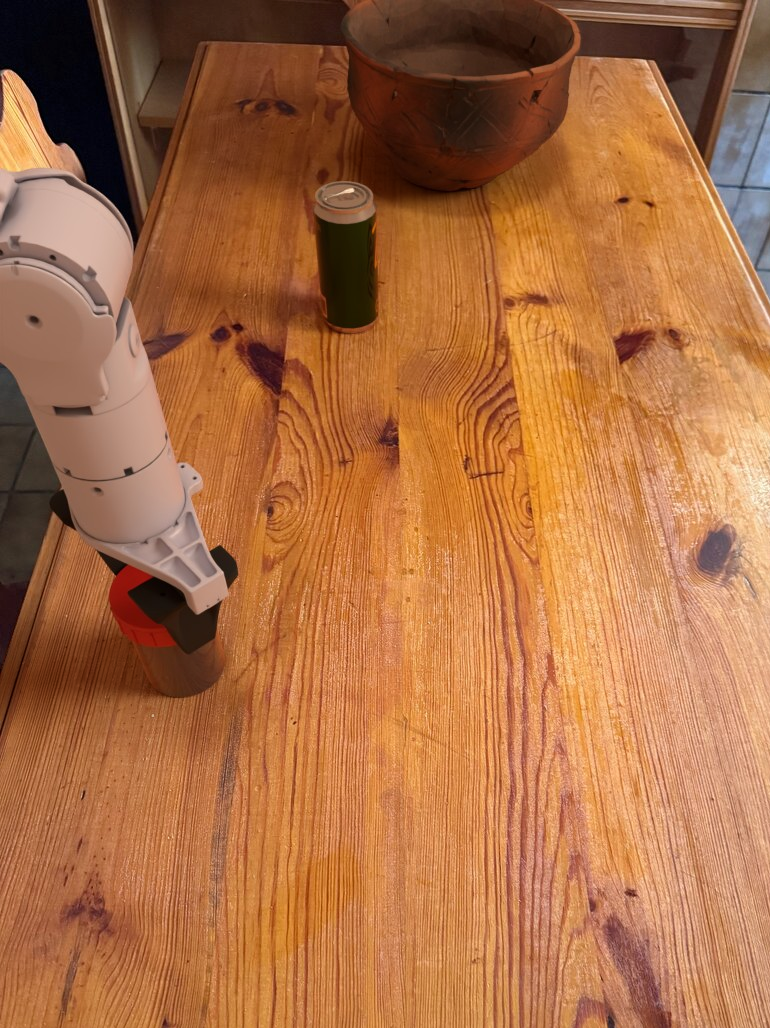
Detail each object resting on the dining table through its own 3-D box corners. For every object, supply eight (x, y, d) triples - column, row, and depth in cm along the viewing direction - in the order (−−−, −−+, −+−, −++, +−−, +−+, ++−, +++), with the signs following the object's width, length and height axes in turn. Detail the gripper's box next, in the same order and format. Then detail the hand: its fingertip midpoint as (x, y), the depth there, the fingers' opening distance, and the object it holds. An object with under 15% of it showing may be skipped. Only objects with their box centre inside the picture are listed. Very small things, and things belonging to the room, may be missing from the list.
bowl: (536, 243, 94) (556, 91, 82) (316, 202, 97) (304, 50, 85) (578, 139, 109) (600, -2, 97) (385, 106, 112) (384, -34, 100)
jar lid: (194, 656, 53) (187, 638, 51) (99, 637, 53) (90, 618, 52) (230, 580, 56) (225, 561, 55) (141, 563, 57) (134, 543, 55)
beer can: (335, 341, 82) (326, 217, 73) (313, 309, 85) (302, 186, 76) (388, 327, 84) (386, 204, 74) (365, 296, 87) (360, 175, 77)
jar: (139, 697, 58) (108, 628, 52) (154, 632, 61) (128, 561, 55) (219, 698, 58) (198, 630, 52) (230, 634, 61) (212, 563, 55)
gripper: (262, 482, 43) (290, 644, 53) (105, 340, 49) (159, 511, 60) (131, 555, 40) (189, 712, 50) (-18, 394, 46) (62, 564, 56)
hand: (166, 607), depth 55 cm, fingers open, 6 cm apart
